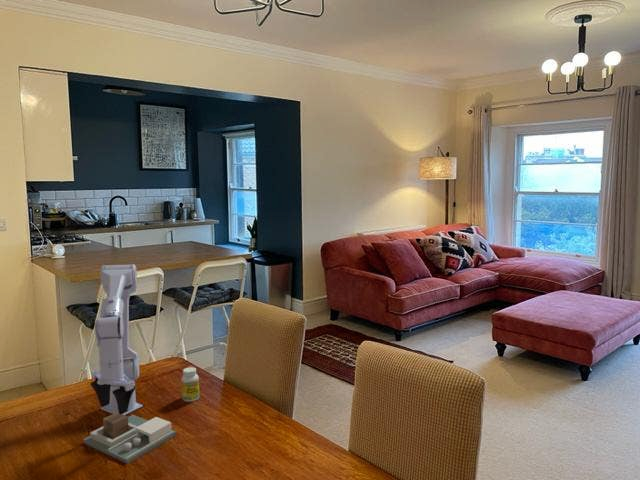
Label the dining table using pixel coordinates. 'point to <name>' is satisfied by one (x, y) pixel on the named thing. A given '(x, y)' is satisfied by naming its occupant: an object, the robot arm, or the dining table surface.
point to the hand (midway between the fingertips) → (114, 408)
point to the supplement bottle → (190, 384)
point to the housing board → (125, 441)
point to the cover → (154, 429)
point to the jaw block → (115, 425)
